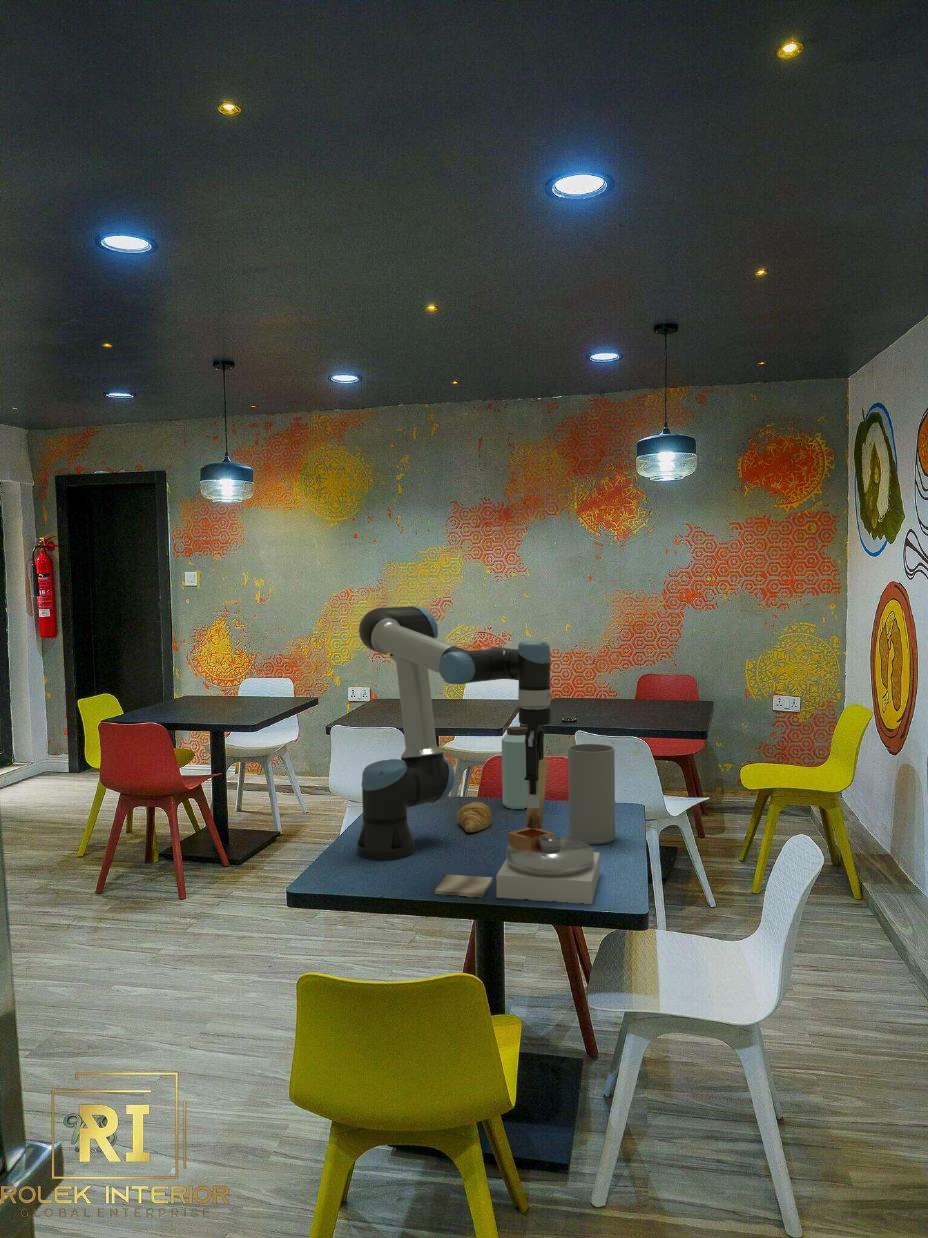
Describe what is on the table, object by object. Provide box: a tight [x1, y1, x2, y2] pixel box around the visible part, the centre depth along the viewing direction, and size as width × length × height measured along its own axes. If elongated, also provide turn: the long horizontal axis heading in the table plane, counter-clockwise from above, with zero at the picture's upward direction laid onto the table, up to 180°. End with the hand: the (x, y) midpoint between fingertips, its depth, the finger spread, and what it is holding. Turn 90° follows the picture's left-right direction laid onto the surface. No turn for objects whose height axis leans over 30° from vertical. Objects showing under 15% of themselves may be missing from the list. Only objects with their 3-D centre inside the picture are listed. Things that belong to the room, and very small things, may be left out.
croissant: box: [456, 801, 492, 833], centre depth 249 cm, size 21×10×8 cm, turn 172°
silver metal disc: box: [506, 827, 595, 876], centre depth 197 cm, size 20×20×6 cm
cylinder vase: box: [567, 743, 616, 846], centre depth 233 cm, size 12×12×25 cm
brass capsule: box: [524, 758, 548, 829], centre depth 202 cm, size 4×4×16 cm
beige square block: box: [495, 851, 601, 905], centre depth 197 cm, size 21×21×5 cm
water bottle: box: [501, 725, 528, 810], centre depth 270 cm, size 10×10×25 cm
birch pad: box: [434, 874, 494, 899], centre depth 196 cm, size 11×11×1 cm
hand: (535, 804), depth 202 cm, fingers closed on brass capsule, 4 cm apart
